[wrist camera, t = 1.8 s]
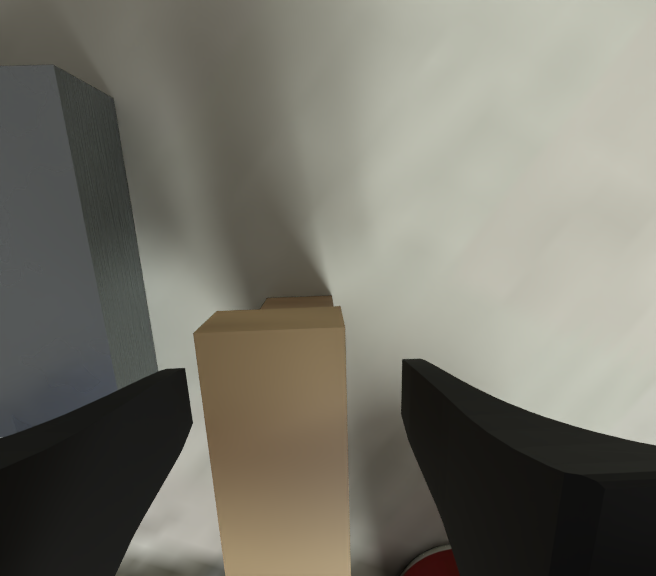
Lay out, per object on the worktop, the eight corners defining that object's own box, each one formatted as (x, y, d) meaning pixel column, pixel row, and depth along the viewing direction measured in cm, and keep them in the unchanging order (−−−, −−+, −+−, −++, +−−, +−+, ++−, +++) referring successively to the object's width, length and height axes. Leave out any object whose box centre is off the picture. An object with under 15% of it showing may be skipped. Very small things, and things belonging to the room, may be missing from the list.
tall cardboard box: (335, 401, 16) (351, 596, 8) (275, 404, 16) (229, 602, 8) (330, 263, 15) (345, 327, 6) (264, 266, 15) (193, 333, 6)
